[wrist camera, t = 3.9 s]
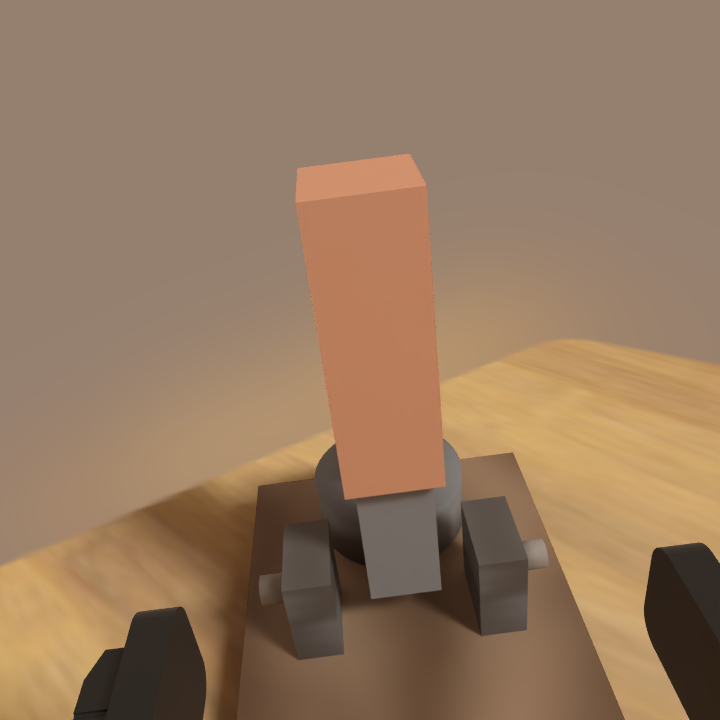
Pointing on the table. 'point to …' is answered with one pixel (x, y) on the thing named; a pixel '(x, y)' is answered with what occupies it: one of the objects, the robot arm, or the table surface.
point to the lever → (379, 356)
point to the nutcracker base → (415, 611)
